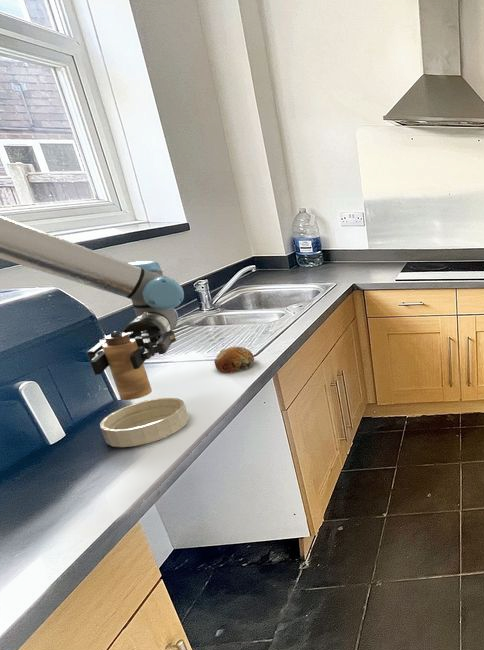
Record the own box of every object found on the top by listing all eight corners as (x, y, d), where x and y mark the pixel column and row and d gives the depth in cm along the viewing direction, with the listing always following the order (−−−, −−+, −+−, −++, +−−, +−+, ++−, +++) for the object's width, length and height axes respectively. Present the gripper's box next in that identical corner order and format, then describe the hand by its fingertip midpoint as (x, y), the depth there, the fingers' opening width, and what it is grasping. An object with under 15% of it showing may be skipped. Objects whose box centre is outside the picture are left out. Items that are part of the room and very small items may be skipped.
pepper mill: (116, 402, 86) (93, 337, 82) (124, 392, 91) (103, 329, 86) (148, 396, 89) (127, 333, 84) (154, 387, 93) (135, 326, 88)
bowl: (96, 456, 84) (88, 437, 82) (119, 423, 96) (113, 406, 94) (182, 438, 90) (177, 420, 88) (194, 409, 102) (189, 392, 100)
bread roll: (255, 369, 132) (248, 345, 132) (258, 366, 124) (251, 340, 124) (218, 378, 126) (211, 353, 126) (219, 375, 118) (211, 348, 118)
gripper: (92, 322, 97) (44, 356, 77) (188, 312, 104) (167, 340, 85) (103, 352, 99) (59, 392, 80) (196, 340, 107) (177, 373, 88)
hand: (115, 365), depth 82 cm, fingers closed on pepper mill, 5 cm apart
